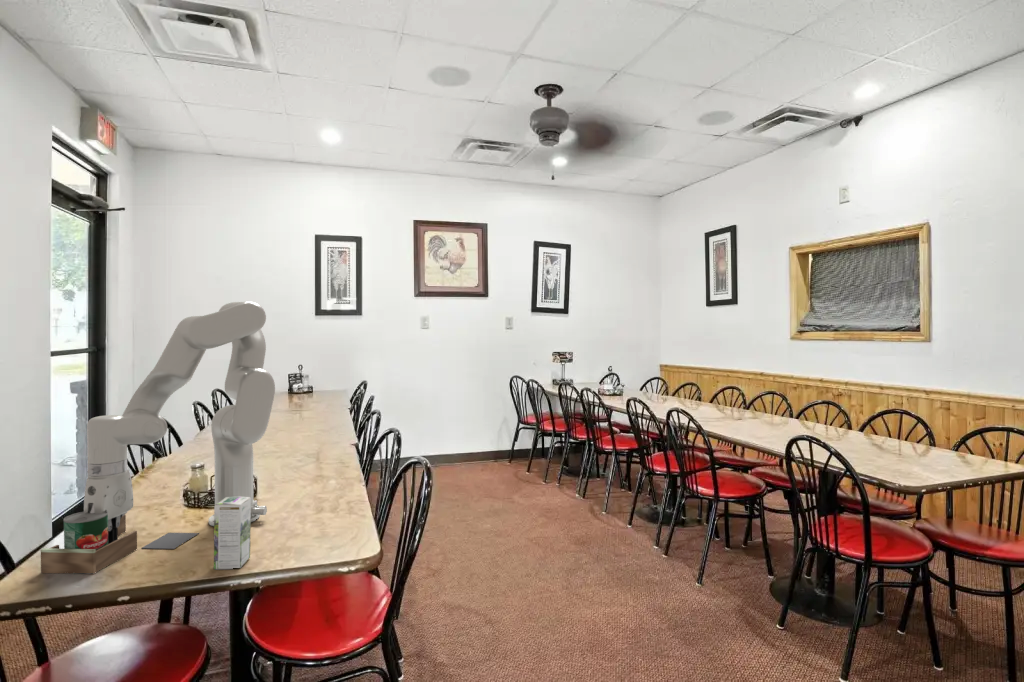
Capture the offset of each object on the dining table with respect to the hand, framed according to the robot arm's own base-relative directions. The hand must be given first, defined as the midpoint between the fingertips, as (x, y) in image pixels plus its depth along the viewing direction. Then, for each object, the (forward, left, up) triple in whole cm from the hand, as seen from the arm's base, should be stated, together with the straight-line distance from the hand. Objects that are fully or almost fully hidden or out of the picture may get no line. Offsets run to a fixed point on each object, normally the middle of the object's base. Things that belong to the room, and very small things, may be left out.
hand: (108, 545), depth 130 cm
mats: (-3, -3, -1) cm, 4 cm away
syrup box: (-33, +6, -2) cm, 34 cm away
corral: (0, +1, -1) cm, 2 cm away
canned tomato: (-1, +7, -2) cm, 7 cm away
